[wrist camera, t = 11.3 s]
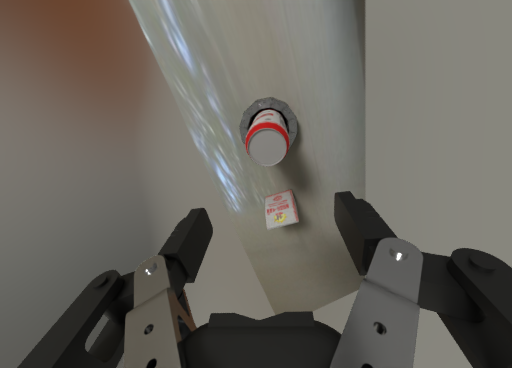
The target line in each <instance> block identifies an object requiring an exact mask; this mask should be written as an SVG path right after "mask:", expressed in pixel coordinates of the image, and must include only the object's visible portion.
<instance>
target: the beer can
mask: <svg viewBox="0 0 512 368" xmlns="http://www.w3.org/2000/svg"><path fill="white" fill-rule="evenodd" d="M289 145H290V141H289V135H288V132H287V128H286V125H285V122H284V119H283V117H282V115H281V114H280V113H279V112H277V111H275V110H272V109H266V110H263V111H261V112H259V114H258V115H257V116H256V117H255V119H254V121H253V123H252V125H251V127H250V129H249V131H248V133H247V136H246V140H245V146H246V151H247V153H248V155H249V156H250V158H251V159H252V160H253V161H254V162H255V163H256V164H259V165H261V166H266V167H267V166H273V165H275V164H278V163H279V162H280V161H281V160H282V159H283V158H284V157H285V156H286V154H287V152H288V150H289Z"/></svg>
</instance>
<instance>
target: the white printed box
mask: <svg viewBox="0 0 512 368" xmlns="http://www.w3.org/2000/svg"><path fill="white" fill-rule="evenodd" d="M265 214H266V222H267V229H268V230H269V229H273V228H277V227H281V226H285V225H289V224H293V223H298V222H299V219H298V211H297V206H296V201H295V198H294V196H293V193H292V190H288V191H284V192H281V193H278V194H274V195H271V196H267V197H266V202H265Z"/></svg>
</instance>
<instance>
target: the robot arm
mask: <svg viewBox="0 0 512 368" xmlns="http://www.w3.org/2000/svg"><path fill="white" fill-rule="evenodd" d="M334 217H335V222H336V225H337V227H338V229H339V231H340V233H341V236H342V238H343V240H344V242H345V244H346V246H347V249H348V251H349V253H350V255H351V257H352V260H353V262H354V264H355V266H356V268H357V270H358V273H359V275H367V276H366V278H365V279H363V281H362V283H361V285H360V288H359V291H358V293H357V296H356V299H355V301H354V304H353V307H352V309H351V312H350V315H349V317H348V320H347V323H346V325H345V328H344V330H343V333H342V335H341V334H340V333H339V332H337V331H336V330H335V329H333V328H331V327H329V326H328V325H326V324H324V323H321V322H319V321H315V320H314V318H313V312H284V313H281V314H278V315H275V316H272V317H269V318H266V319H262V320H255V319H252V318H249V317H246V316H242V315H239V314H236V313H212V314H211V315H210V319H209V323H206V324H204V325H202V326H200V327H199V328H197V327H196V325H195V323H194V320H193V317H192V313H191V310H190V306H189V303H188V300H187V296H186V293H185V290H184V289H183V288H184V285H185V283H194V281H195V278H196V276H197V273H198V270H199V268H200V265H201V263H202V260H203V258H204V255H205V252H206V250H207V247H208V245H209V242H210V240H211V237H212V234H213V228H212V224H211V222H210V219H209V217H208V214H207V212H206V210H205V209H204V208H197V209H192V210H191V211H190V212H189V214H188V215H187V217H186V218H184V219H183V220H181V221H180V222H179V223H178V225H177V226H176V227H175V229H174V231H173V232H172V233H171V236H170V237H169V238H168V240H167V241H166V243H165V244H164V246H163V247H162V249H161V250H160V252H159V253H158V255H156V256H152V257H150V258H148V259H146V260H145V261H144V262H142V263H141V264H140V265H139V266H138V267H137V269H136V271H134V272H131V273H128V274H126V275H123V276H121V275H120V274H119V273H118V272H117V271H116V270H110V271H107V272H104V273H103V274H101V275H99V276H98V277H96V278H95V279H94V280H92V281H91V282H90V284H88V286H87V287H86V288H85V289H84V290H83V291H82V293H81V294H80V295H79V296H78V297H77V298H76V300H75V301H74V302H73V303H72V304H71V305H70V307H69V308H68V309H67V310H66V311H65V313H64V314H63V315H62V316H61V317H60V318H59V320H58V321H57V322H56V323H55V324H54V325H53V326H52V328H51V329H50V330H49V331H48V332H47V334H46V335H45V336H44V337H43V338H42V339H41V341H40V342H39V343H38V344H37V345H36V346H35V348H34V349H33V350H32V351H31V352H30V353H29V354H28V356H27V357H26V358H25V359H24V360H23V361H22V363H21V364H20V365H19V366H18V367H17V368H116V367H117V365H118V363H119V361H120V359H121V357H122V355H123V353H124V368H413V362H414V353H415V345H416V337H417V328H418V320H419V310H420V308H423V309H427V310H430V311H434V312H437V314H438V315H439V317H440V318H441V320H442V321H443V323H444V324H445V326H446V327H447V329H448V331H449V332H450V334H451V335H452V337H453V338H454V340H455V341H456V343H457V344H458V345H459V347H460V349H461V350H462V352H463V353H464V355H465V356H466V358H467V359H468V361H469V362H470V364H471V365H472V367H473V368H512V268H511V267H510V266H508V265H507V264H506V263H505V262H503V261H502V260H500V259H498V258H496V257H494V256H493V255H490V254H488V253H485V252H482V251H479V250H474V249H469V248H460V249H456V250H455V251H453V252H452V254H451V256H450V257H447V256H442V255H435V254H430V253H424V252H421V251H420V250H419V249H418V248H417V247H416V246H414V245H413V244H411V243H410V242H408V241H405V240H402V239H399V238H397V236H396V235H395V234H394V233H393V231H392V230H391V229H390V228H389V226H388V225H387V224H386V223H385V222H384V220H383V219H382V218H381V217H380V216H379V214H378V213H377V212H376V211H375V209H374V208H373V207H372V206H371V205H370V204H369V203H367V202H366V201H364V200H363V199H355V197H354V196H353V194H352V193H351V192H350V191H346V192H337V193H335V200H334ZM103 314H104V315H105V316H106V317H107V318H108V319H109V320H108V322H107V323H106V325H105V326H104V328H103V330H102V331H101V333H100V334H99V336H98V337H97V339H96V340H95V342H94V344H93V345H92V347H91V348H90V350H89V351H88V352H87V351H86V350H85V343H86V340H87V338H88V336H89V334H90V333H91V331H92V330H93V329H94V327H95V326H96V324H97V323H98V321H99V320H100V318H101V317H102V315H103Z"/></svg>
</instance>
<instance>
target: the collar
mask: <svg viewBox="0 0 512 368" xmlns="http://www.w3.org/2000/svg"><path fill="white" fill-rule="evenodd" d="M259 109H260V110H259ZM266 109H272V110H275V111H277V112H279V113H280V114H281V115H282V117H283V119H284V122H285V125H286V128H287V122H288V130H287V132H288V135H289V141H290V145H289V148H290V146H292V144H293V141H294V139H295V137H296V135H297V121H296V116H295V115H294V113H293V112H292V110H291V109H290V108H289V106H288V105H287V104H286V103H285V102H283V101H281V100H278V99H276V98H273V97H272V99H271V97H269V98H264V99H259V100H257V101H255V102H254V103H253V104H252V105H251V106H250V107H249V108H248V109H247V110H246V111H245V112H244V113H243V116H242V120H241V123H240V128H239V129H240V133H241V137H242V142H243V141H244V142H243V143H244V144H245V140H246V136H247V133H248V131H249V123H250V120H251V117H252V116H253V115H254V114H255V115H254V116H253V118H252V120H251V124H250V127H251V125H252V123H253V121H254V119H255V117H256V116H257V115H258V114H259V112H261V111H263V110H266ZM258 110H259V111H258ZM257 111H258V112H257ZM280 111H281V112H282V113H283V114H284V115H283V114H282V113H281V112H280ZM284 116H285V117H286V118H287V122H286V119H285V117H284Z"/></svg>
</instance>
